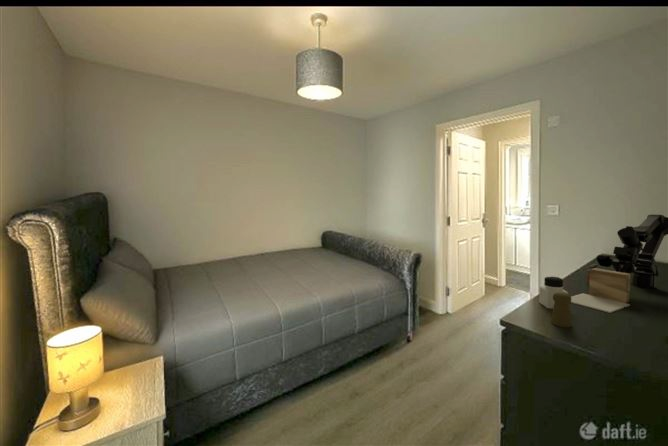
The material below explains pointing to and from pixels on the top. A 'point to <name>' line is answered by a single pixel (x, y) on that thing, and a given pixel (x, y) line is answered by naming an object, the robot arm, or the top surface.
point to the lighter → (589, 272)
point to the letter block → (609, 285)
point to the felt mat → (597, 303)
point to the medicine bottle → (550, 291)
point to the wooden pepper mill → (561, 310)
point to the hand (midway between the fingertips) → (617, 278)
